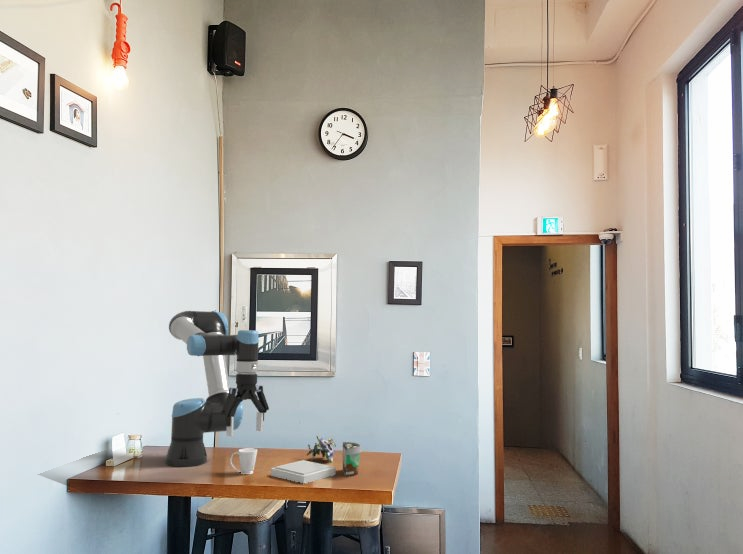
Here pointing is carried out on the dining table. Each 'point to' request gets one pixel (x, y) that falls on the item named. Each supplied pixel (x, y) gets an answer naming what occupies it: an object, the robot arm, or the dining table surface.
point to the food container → (351, 458)
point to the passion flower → (323, 449)
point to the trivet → (303, 471)
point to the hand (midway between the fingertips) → (244, 433)
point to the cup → (246, 460)
